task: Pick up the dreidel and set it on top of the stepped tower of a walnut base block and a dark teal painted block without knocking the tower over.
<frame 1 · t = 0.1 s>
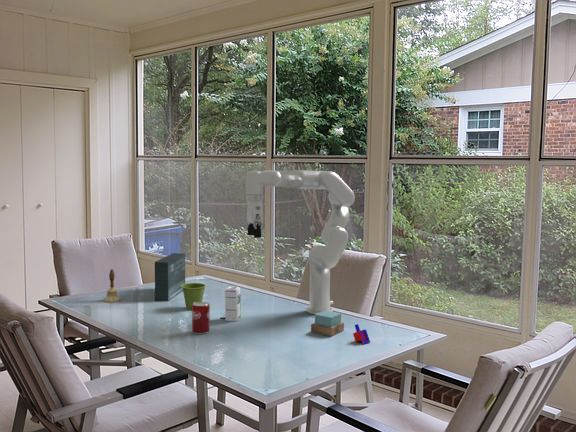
hand: (254, 236, 265), 37 cm above the table, tool pointing down, fingers open, 9 cm apart
tower base block: (327, 332, 247), on the table, touching tower top block
hand bell: (112, 300, 298), on the table
soda can: (200, 332, 245), on the table
tower top block: (327, 323, 247), point 4 cm above the table, touching tower base block
plant pot: (193, 308, 284), on the table
syrup box: (232, 319, 265), on the table
dark green box: (170, 295, 312), on the table
dreidel: (361, 342, 234), on the table
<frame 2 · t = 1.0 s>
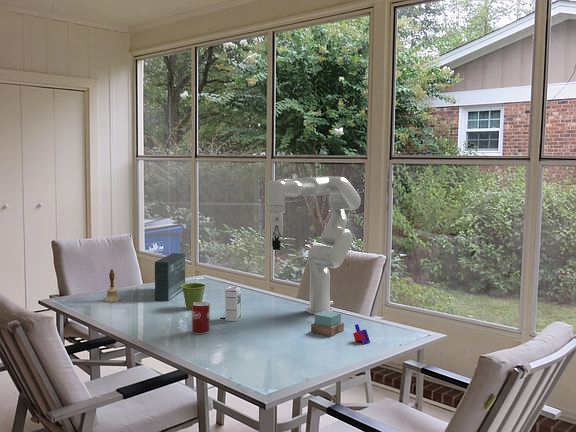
hand: (276, 248, 257), 33 cm above the table, tool pointing down, fingers open, 9 cm apart
tower base block: (327, 332, 247), on the table
tower top block: (327, 323, 247), point 4 cm above the table
everything else where it was.
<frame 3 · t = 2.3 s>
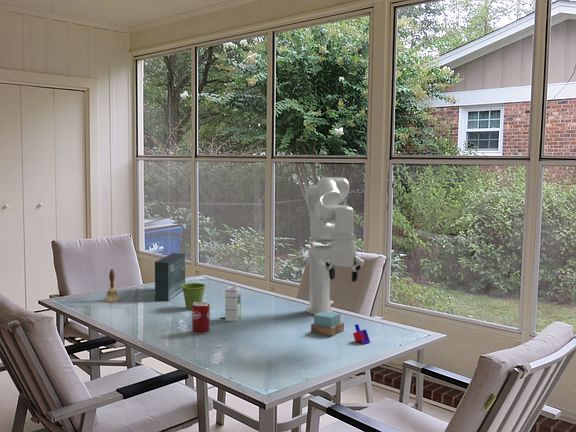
hand: (343, 280, 236), 24 cm above the table, tool pointing down, fingers open, 9 cm apart
nothing on the table moved.
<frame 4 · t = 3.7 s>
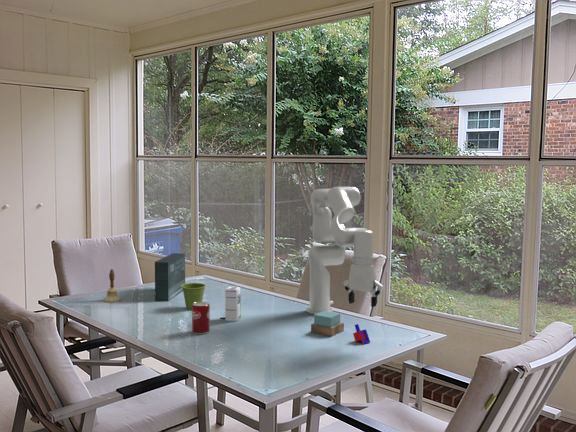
hand: (362, 304, 232), 15 cm above the table, tool pointing down, fingers open, 9 cm apart
nothing on the table moved.
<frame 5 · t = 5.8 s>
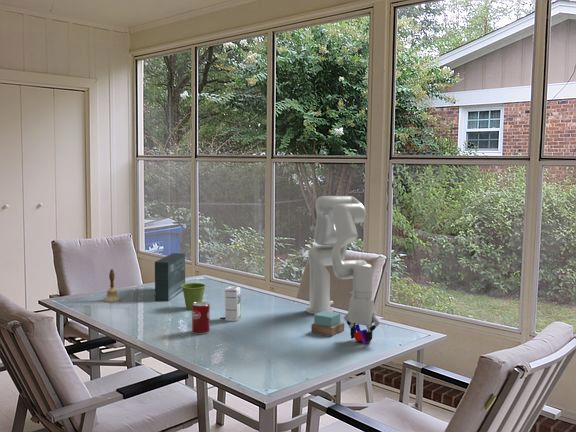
hand: (361, 338, 233), 1 cm above the table, tool pointing down, fingers closed on dreidel, 6 cm apart
dreidel: (361, 342, 233), on the table, touching gripper
everything else where it was.
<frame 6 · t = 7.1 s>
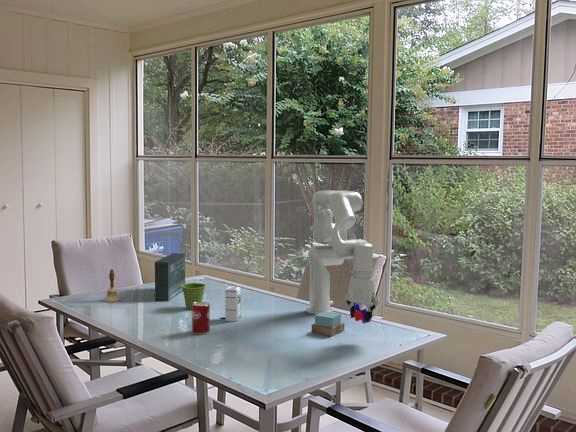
hand: (360, 318, 233), 9 cm above the table, tool pointing down, fingers closed on dreidel, 6 cm apart
tower base block: (327, 333, 247), on the table, touching tower top block
tower top block: (327, 324, 246), point 3 cm above the table, touching tower base block
dreidel: (361, 321, 234), point 8 cm above the table, touching gripper
everything else where it was.
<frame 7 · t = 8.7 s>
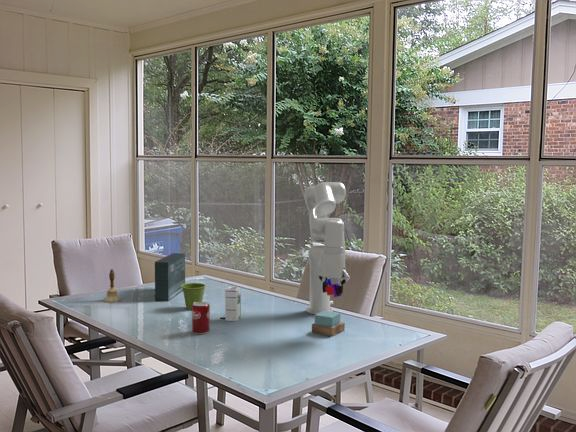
hand: (332, 292, 244), 17 cm above the table, tool pointing down, fingers closed on dreidel, 6 cm apart
dreidel: (333, 296, 244), point 16 cm above the table, touching gripper
everything else where it was.
when the fingers open (10 cm above the table, at t = 11.6 s): dreidel drops 1 cm, resting on tower top block.
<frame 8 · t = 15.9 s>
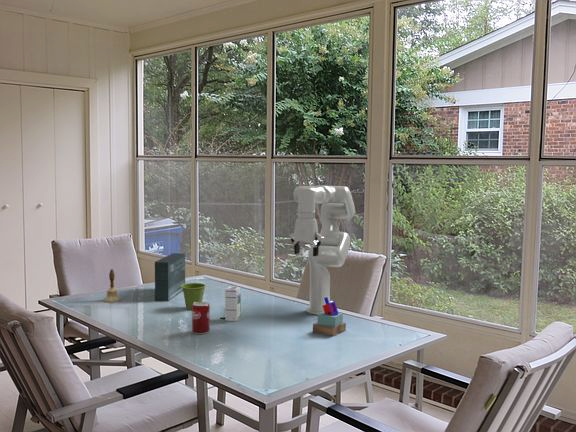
hand: (306, 254, 258), 30 cm above the table, tool pointing down, fingers open, 9 cm apart
tower top block: (330, 323, 247), point 4 cm above the table, touching tower base block, dreidel
dreidel: (330, 314, 247), point 7 cm above the table, touching tower top block
everything else where it was.
at the end: dreidel 0.2 cm off-centre on the tower top block, point 3.8 cm above the tower top block's base; tower top block 0.3 cm off-centre on the tower base block, point 4.0 cm above the tower base block's base; tower base block moved 1.0 cm from its start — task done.
